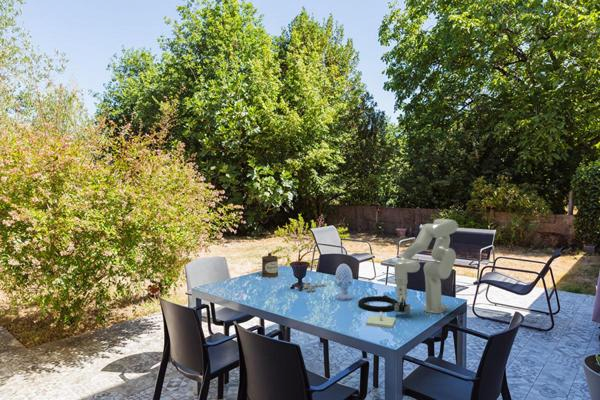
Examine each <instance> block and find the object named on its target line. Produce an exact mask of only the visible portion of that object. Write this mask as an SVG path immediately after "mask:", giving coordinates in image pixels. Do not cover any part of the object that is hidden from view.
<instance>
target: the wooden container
mask: <svg viewBox="0 0 600 400" xmlns="http://www.w3.org/2000/svg"><path fill="white" fill-rule="evenodd" d="M278 262H279V261H278V256H277V255H273V254H272V252H268V253H267V255H264V256H262V257H261V267H262V268H261V274H262V275H261V276H262V277H263V278H265V277H269V278H268V279H271V277H273V278H277V277H279V264H278Z"/></svg>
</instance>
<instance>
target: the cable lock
mask: <svg viewBox="0 0 600 400" xmlns="http://www.w3.org/2000/svg"><path fill="white" fill-rule="evenodd" d="M369 302H384V303H389V304H391V305H383V306H382V305H378V306H377V305H371V304H367V303H369ZM396 303H397V304H399V300H398V299H397V300H396V298H392V297H390V296H388V295H387V294H384V295H376V296H375V295H372V296H366V297H362V298H360V299H359V300H358V303H357V304H358V306H359V308H361V309H363V310H366V311H369V312H379V313H380V312H382V313H385V312H386V313H387V312H393V311H394V306H395V304H396Z"/></svg>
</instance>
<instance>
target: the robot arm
mask: <svg viewBox="0 0 600 400" xmlns="http://www.w3.org/2000/svg"><path fill="white" fill-rule="evenodd" d="M457 229H458V223H457V222H456V220H454V219H448V218H447V219H446V218H437V219H436V218H435V220H434V221H433V223H425V224H423V225H422V227H421V229H420V230H419V233H418V235H417V237H416V239H415V240H414V242H413V243H412V244H411V245H410V246H408V247H407V248H406V249H405V250H404V251H403V252H402V254H401V256H400V259H399V260H397V261H395V262H394V265H393V266H394V284H395V285H396V294H397V301H398V302H399V312H398V313H402V312H404V311H405V309H404V304H407V303H406V301H407V299H408V288H407V285H408V273H417V272H419V270H420V268H421V264H420V263H419V261H417V260H414V259H413V257H414V256H415V255H417V254H419V253H421V252H425V251H426V250H428V247H429V246H430V243H431V242H432V240H433V238H435V242H434V245H433V248H432V250H431V258H432V261H431V260H430V261H427V262H425V264H424V265H423V273H424V274H423V275H424V282H425V306H423V307H422V311H424V312H426V313H430V314H442V313H444V312H445V310H448V311H449V308H450V306H447V305H443V303H442V282H441V280H446V279H448V278H449V277H450V275H451V274H452V273H451V272H452V271H453V268H454V264H455V261H456V259H457V258H456V256H457V255H456V251H455V250H454V249H453V248H451V247H450V243H451V237H450V235H452V234H454V233H456V231H457ZM433 260H435V261H433Z"/></svg>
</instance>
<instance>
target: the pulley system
mask: <svg viewBox="0 0 600 400" xmlns="http://www.w3.org/2000/svg"><path fill="white" fill-rule="evenodd" d="M302 286H303V289H307V288H308V289H307V290H306V292H307V293H311V292H316V288H325V287H327V284H325V283H321V284H319V283H314V285H312V284H311V283H310V282H306V283H304V284H303V285H302Z"/></svg>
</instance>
